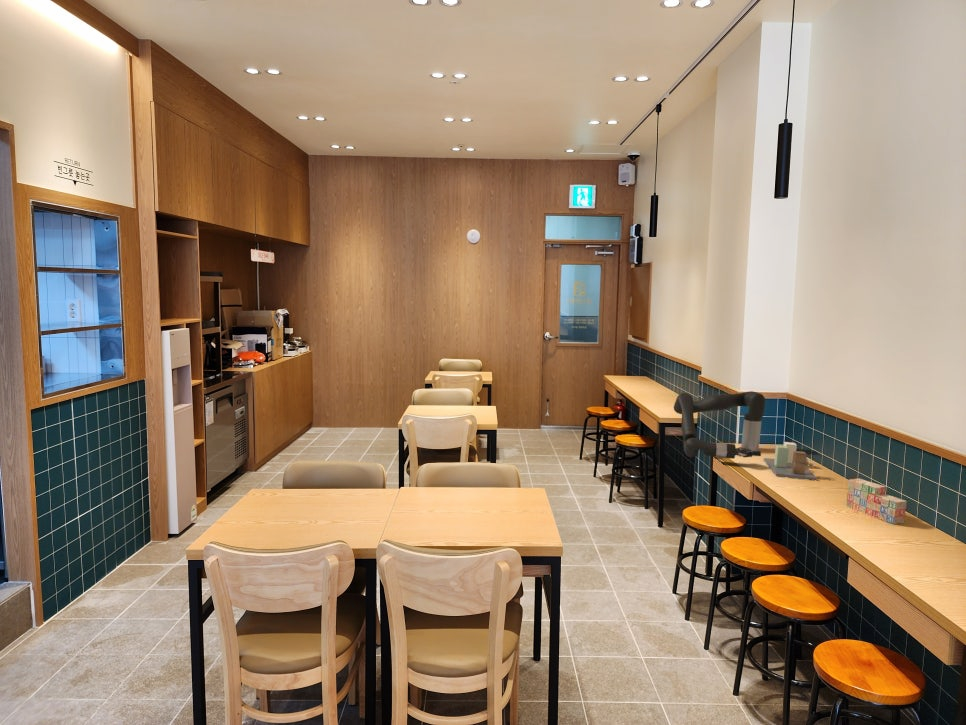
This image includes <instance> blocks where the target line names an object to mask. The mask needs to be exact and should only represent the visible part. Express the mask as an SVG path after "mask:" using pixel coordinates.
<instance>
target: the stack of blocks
mask: <svg viewBox="0 0 966 725" xmlns="http://www.w3.org/2000/svg"><path fill="white" fill-rule="evenodd" d="M847 485H848V486H847V491H846V492H847V494H846V504H845V507H846V506H847V507H846V508H848V507H849V508H848V509H850V508H852V509H851V510H853V509H855V510H857V511H856V512H858V511H859V512H858V513H861V512H862V513H861V514H863V513H865V514H864V515H866V514H868V515H867V516H869V515H871V516H870V517H872V516H874V517H873V518H875V517H877V518H879V519H878V520H880V519H882V520H881V521H883V520H884V521H883V522H885V521H887V522H886V523H888V522H889V523H888V524H891V523H892V524H891V525H898V524H897V523H901V524H903V523H902V522H904V523H905V516H906V508H907V502H908V501H907V500H904V499H901V498H899V497H896V496H893V495H889V494H886V491H887V490H886V489H887V487H886V486H885V485H882V484H877V483H875V482H871V481H868V480H865V479H862V478H850V479H848V483H847ZM855 510H854V511H855ZM877 518H876V519H877Z"/></svg>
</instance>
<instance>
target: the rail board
mask: <svg viewBox="0 0 966 725" xmlns="http://www.w3.org/2000/svg"><path fill="white" fill-rule="evenodd" d="M774 460H775V458H769V457H768V458H767V457H764V458H763V462H764V461H765V462H766V463H765V462H764V463H765V464H766V465H768V466H769V467H768V466H767V467H768V468H769V469H770V471H771V470H772V471H771V472H772V473H773V475H774V474H775V475H776V476H778V478H785V477H788V478H787V479H795V478H798V479H797V480H804V479H811V480H810V481H814V480H816V481H817V476H815V475H814V473H813V472H811V471H810V470H809V468H808V467H806V468H805V474H796V473H793V472H792V471H791V469H792V464H791V463H787V468H785V467H776V466H775V465H774ZM775 475H774V476H775ZM776 476H775V477H776Z"/></svg>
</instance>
